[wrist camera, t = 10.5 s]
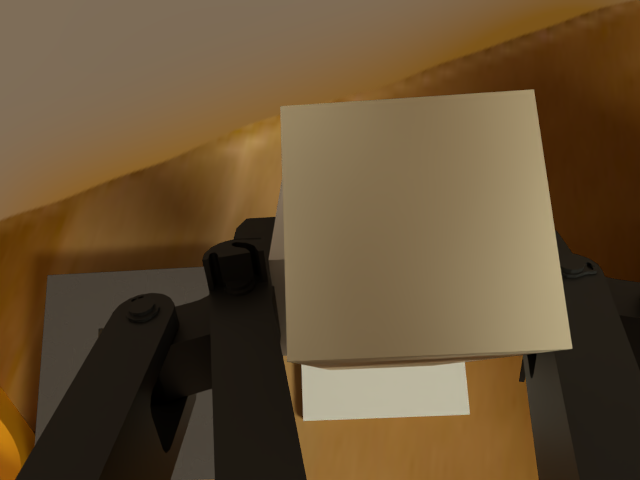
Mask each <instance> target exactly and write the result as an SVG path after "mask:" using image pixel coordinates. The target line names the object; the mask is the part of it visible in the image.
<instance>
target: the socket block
mask: <svg viewBox="0 0 640 480" xmlns="http://www.w3.org/2000/svg"><path fill="white" fill-rule="evenodd" d="M148 293H160V294H164V295H166V296H168V297H170V298H171V299H172V301H173V302H174V305H175V306H179V305H183V304H187V303H191V302H194V301H197V300H200V299H202V298H204V297H206V296H208V295H209V288H208V284H207V279H206V275H205V270H204V267H191V268H172V269H154V270H135V271H117V272H99V273H80V274H62V275H48V277H47V290H46V303H45V316H44V329H43V342H42V355H41V368H40V381H39V394H38V407H37V420H36V433H35V444H36V443H37V441H38V439H39V438H40V436H41V434H42V432H43V431H44V429H45V427H46V426H47V424H48V422H49V421H50V419H51V417H52V415H53V414H54V412H55V410H56V409H57V407H58V405H59V403H60V402H61V400H62V398H63V397H64V395H65V393H66V392H67V390H68V388H69V386H70V385H71V383H72V381H73V380H74V378H75V376H76V375H77V373H78V371H79V369H80V368H81V366H82V364H83V363H84V361H85V359H86V357H87V356H88V354H89V352H90V351H91V349H92V347H93V346H94V344H95V342H96V340H97V339H98V337H99V335H100V334H101V332H102V330H103V329H104V327H105V325H106V323H107V322H108V320H109V318H110V317H111V315H112V313H113V312H114V311H115V309H116V308H117V307H118V306H119V305H120V304H122V303H123V302H125V301H126V300H128V299H130V298H132V297H135V296H137V295H141V294H148ZM204 479H215V470H214V437H213V403H212V389H209V390H206V391H203V392H199V393H197V397H196V401H195V404H194V407H193V411H192V414H191V417H190V420H189V423H188V426H187V430H186V433H185V436H184V439H183V442H182V445H181V449H180V452H179V455H178V458H177V461H176V464H175V468H174V471H173V474H172V477H171V480H204Z"/></svg>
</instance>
